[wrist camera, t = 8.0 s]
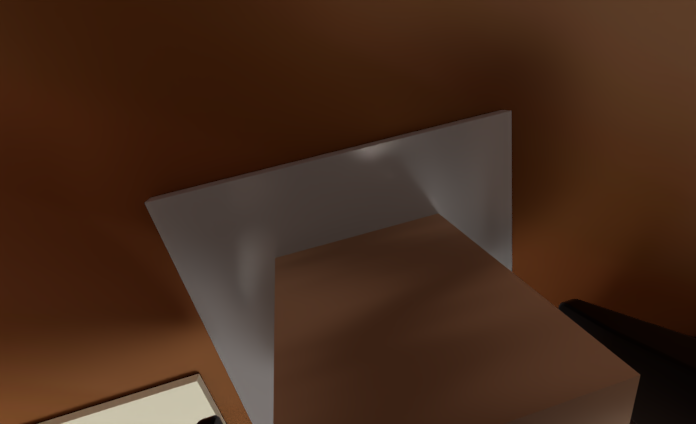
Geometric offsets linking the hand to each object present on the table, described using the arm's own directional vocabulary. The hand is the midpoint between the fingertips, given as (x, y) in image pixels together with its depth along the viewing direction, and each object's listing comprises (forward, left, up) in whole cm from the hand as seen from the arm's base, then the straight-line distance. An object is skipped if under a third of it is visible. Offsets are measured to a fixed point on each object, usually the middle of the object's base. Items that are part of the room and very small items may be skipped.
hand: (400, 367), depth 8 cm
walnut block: (0, 0, -3) cm, 3 cm away
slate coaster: (0, 0, -3) cm, 3 cm away
